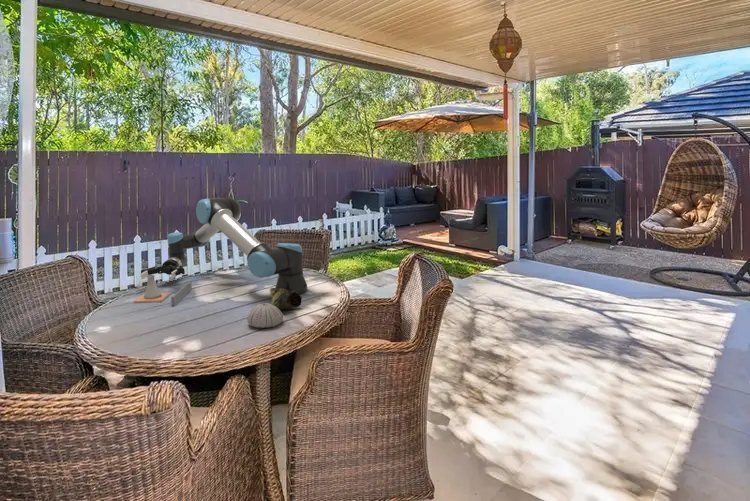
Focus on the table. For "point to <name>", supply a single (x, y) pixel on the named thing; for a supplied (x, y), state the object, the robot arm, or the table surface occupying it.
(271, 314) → the sea urchin shell
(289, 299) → the seashell
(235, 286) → the table surface
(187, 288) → the low wall
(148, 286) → the flask
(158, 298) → the terracotta tile
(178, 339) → the table surface
